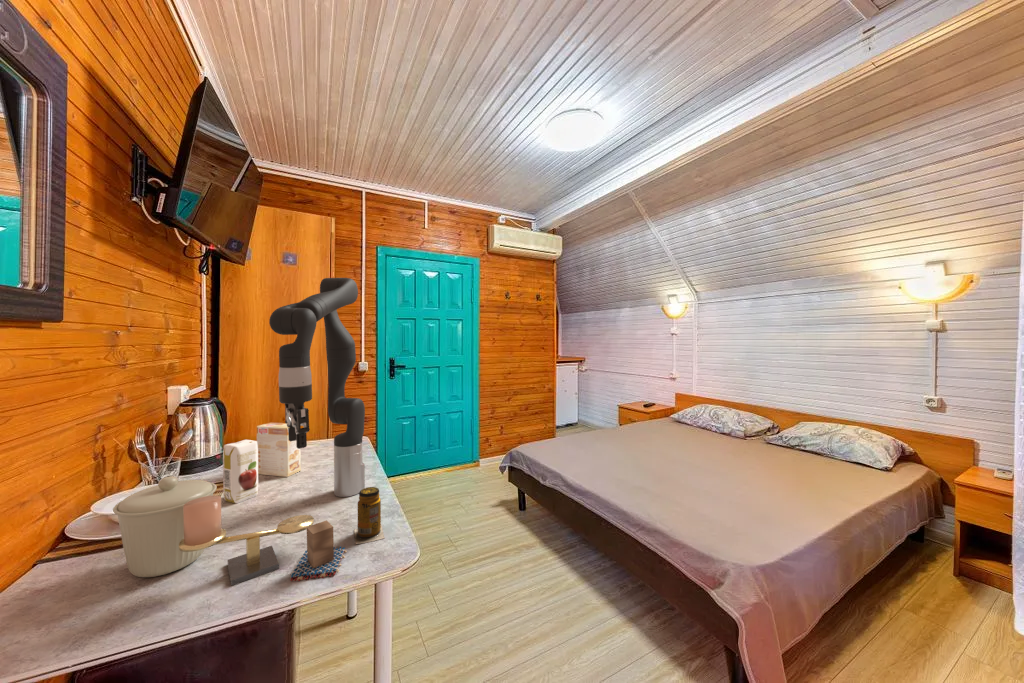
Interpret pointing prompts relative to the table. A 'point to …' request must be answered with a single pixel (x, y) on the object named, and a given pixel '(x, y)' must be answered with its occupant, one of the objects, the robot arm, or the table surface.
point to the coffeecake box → (277, 451)
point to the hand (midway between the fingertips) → (297, 444)
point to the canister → (158, 525)
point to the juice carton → (240, 471)
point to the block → (320, 544)
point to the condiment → (369, 516)
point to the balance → (254, 549)
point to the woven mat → (307, 570)
